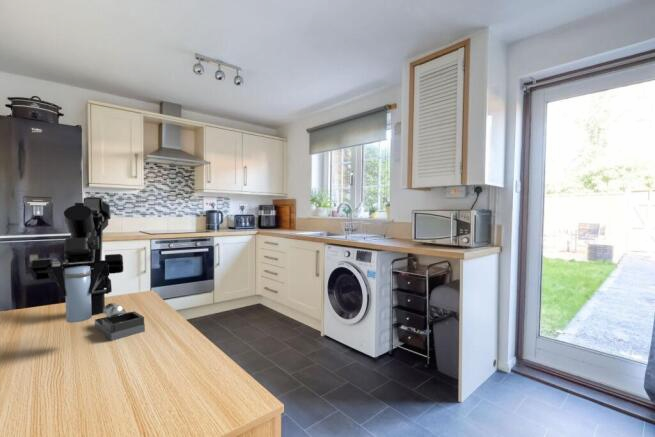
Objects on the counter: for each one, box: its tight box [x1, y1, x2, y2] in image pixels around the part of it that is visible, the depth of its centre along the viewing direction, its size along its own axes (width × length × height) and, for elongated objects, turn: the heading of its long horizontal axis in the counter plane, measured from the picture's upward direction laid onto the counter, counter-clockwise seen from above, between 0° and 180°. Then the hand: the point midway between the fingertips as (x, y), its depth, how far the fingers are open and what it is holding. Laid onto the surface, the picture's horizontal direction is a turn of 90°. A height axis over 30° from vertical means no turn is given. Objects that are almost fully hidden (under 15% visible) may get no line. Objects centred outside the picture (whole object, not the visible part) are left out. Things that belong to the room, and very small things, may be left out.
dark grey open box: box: [94, 302, 146, 342], centre depth 88 cm, size 15×8×6 cm, turn 51°
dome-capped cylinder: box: [64, 266, 93, 324], centre depth 77 cm, size 5×5×13 cm
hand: (77, 294), depth 76 cm, fingers closed on dome-capped cylinder, 5 cm apart
